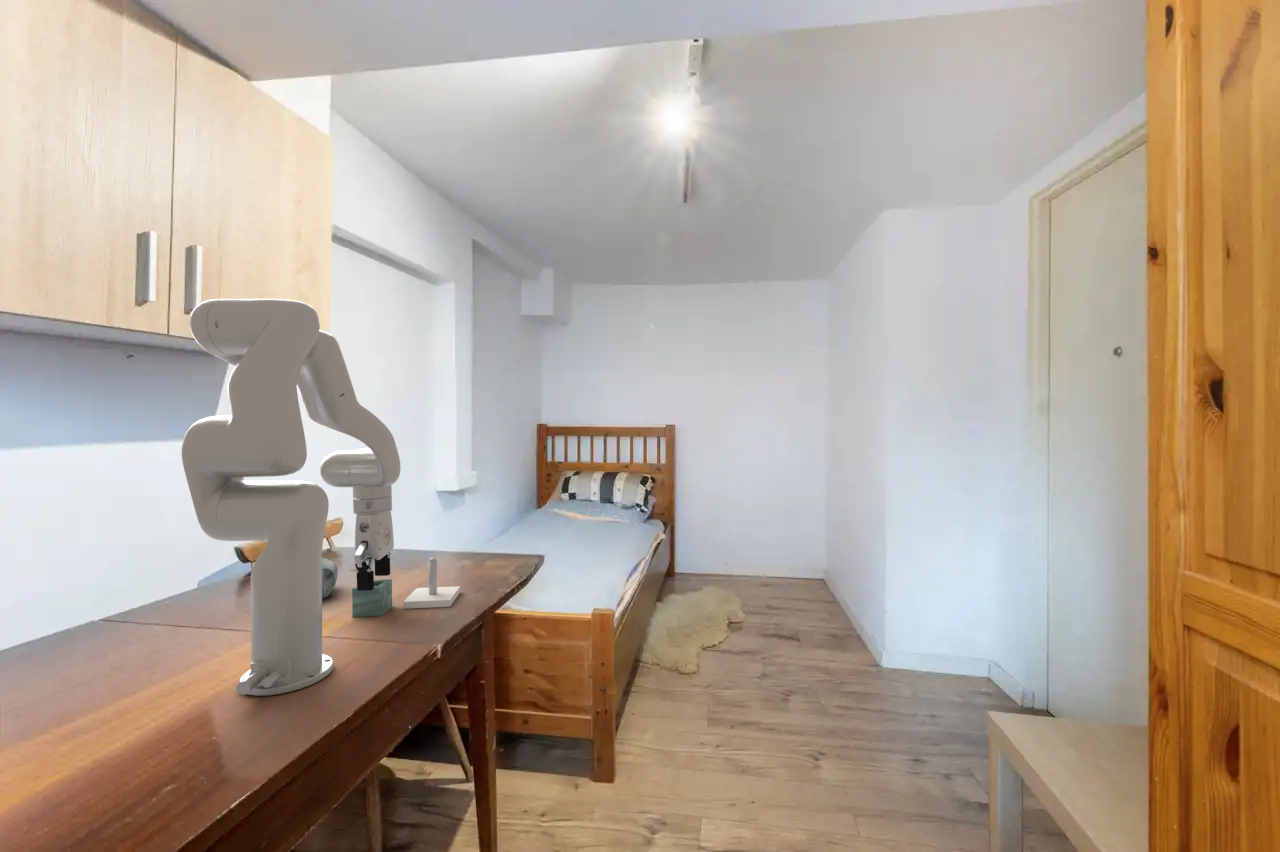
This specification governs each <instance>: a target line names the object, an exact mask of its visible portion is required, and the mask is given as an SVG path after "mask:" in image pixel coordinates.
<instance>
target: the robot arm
mask: <svg viewBox="0 0 1280 852" xmlns="http://www.w3.org/2000/svg"><path fill="white" fill-rule="evenodd" d="M189 328H190V332H191V334H192V336H193V339H194V340H195V342H196V343H197V344H198V345H199V346H200V347H201V348H202V349H203V350H205V351H206V352H207V353H208V354H210V355H213V356H214V357H216V358H218V359H220V360H222V361H223V362H227V363H228V364H231V365H233V366H234V368H233V370H232V371H231V373H230V376H229V379H228V383H227V397H228V400H229V406H230V413H231V414H230V415H213V416H206V417H205V418H202V419H201V418H200V419H199V420H197V421H196V422H194V423H193V424H192V425H190V427H189V428H188V430H186V432H185V434H184V438H183V441H182V445H181V461H182V466H183V471H184V475H185V479H186V482H187V486H188V489H189V492H190V497H191V500H192V501H191V502H192V503H193V508H194V512H195V516H196V518H197V523H198V524H199V526H200V529H201V530H202V531H203V532H204V533H205V534H206V535H207V536H208V537H209V538H211V539H213V540H216V541H217V540H218V541H222V542H224V541H225V542H253V541H254V542H255V541H256V542H266V546H265V548H264V549H263V551H261V553H260V555H259V556H258V557H257V559H256V560H255V561H254V564H253V566H252V569H251V572H250V621H251V622H250V625H251V626H250V629H251V631H250V633H251V634H250V636H251V640H250V641H251V643H250V644H251V646H250V647H251V650H250V652H251V653H250V654H251V656H250V657H251V662H250V669H249V670H247V671H246V672H244V673H243V675H241V677H240V678H239V680H238V683H237V685H236V691H237V693H238V694H240V695H249V696H256V697H257V696H258V697H263V696H265V697H266V696H276V695H280V694H281V695H282V694H286V693H289V692H290V693H291V692H293V691H297V690H301V689H303V688H307V687H309V686H311V685H313V684H315V683H317V682H319V681H321V680H323V679H324V678H325V677H327V676H328V675H330V673H331V672H332V671H333V669H334V660H333V658H332V657H331V656H329V655H327V654H325V653H323V599H322V558H323V543H324V536H325V531H326V530H325V529H326V525H327V520H328V514H329V502H330V501H329V498H328V495H327V493H326V491H325V490H324V489H323V488H322V487H321V486H319V485H318V484H315V483H313V482H310V481H305V480H296V479H295V480H293V479H290V480H289V479H283V480H282V479H281V480H280V479H277V480H275V479H274V480H272V479H270V480H269V479H268V480H245V478H272V477H284V476H289V475H292V474H295V473H297V472H299V471H300V470H301V469H302V468H303V467H304V466H305V464H306V462H307V456H308V455H307V454H308V452H307V451H308V450H307V449H308V448H307V443H306V442H307V441H306V436H305V429H304V425H303V419H302V414H301V408H300V402H299V397H298V395H300V398H301V400H302V403H303V405H304V408H305V411H306V413H307V415H308V417H309V418H310V419H311V420H312V421H313V422H315V423H317V424H318V425H321V426H324V427H326V428H329V429H332V430H334V431H337V432H339V433H342V434H345V435H348V436H350V437H353V438H355V439H356V440H358V441H360V442H362V443H363V444H364V445H365V446H366V447H362V448H357V449H348V450H347V449H345V450H344V449H343V450H340V449H339V450H336V451H333V452H331V453H329V454H327V455H326V456H325V457H324V458H323V460H322V461H321V465H320V469H319V470H320V476H321V478H322V480H323V481H324V482H325V484H327V485H329V486H332V487H335V488H352V506H353V507H352V509H353V510H352V511H353V512H352V513H353V514H355V515H356V518H355V528H354V552H355V553H354V555H353V559H354V562H355V563H354V566H355V573H356V586H357V590H358V591H368V590H373V589H374V580H375V577H374V576H376V577H382V576H383V577H385V576H390V575H391V552H392V551H393V550H394V547H395V546H394V545H395V543H394V541H395V540H394V528H393V518H392V512H391V511H393V501H392V500H393V495H392V494H393V493H392V485H393V484H395V483H396V482H397V481H398V479H399V477H400V474H401V459H400V455H399V452H398V447H397V444H396V441H395V438H394V436H393V433H392V432H391V431H390V429H389V428H388V426H387V425H385V423H384V422H383V421H382V420H381V419H379V418H378V416H376V415H375V414H374V413H372V412H371V411H370V410H368V409H367V408H366V407H364V406H363V405H361V403H360V402H359V401H358V400H357V397H356V393H355V389H354V386H353V382H352V380H351V377H350V373H349V370H348V367H347V364H346V362H345V357H344V355H343V352H342V349H341V346H340V344H339V342H338V340H337V339H336V337H335V336H334V335H332V334H331V333H329V332H327V331H324V330H321V320H320V317H319V313H318V312H317V310H316V309H315V308H314V307H313V306H311V305H310V304H308V303H307V302H303V301H299V300H294V299H283V298H214V299H212V298H211V299H208V300H204V301H202V302H199V304H198V305H196V306H195V307H194V308H193V309H192V312H191V314H190V316H189ZM298 393H299V394H298ZM367 562H368V564H367ZM373 566H374V570H372V569H373Z"/></svg>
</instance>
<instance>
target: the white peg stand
mask: <svg viewBox="0 0 1280 852" xmlns="http://www.w3.org/2000/svg"><path fill="white" fill-rule="evenodd" d="M460 594H461V586H459V585H458V586H457V585H456V586H438V560H437V558H436V557H433V556H432V557H430V558H429V559H428V587H416V588H415V589H414V590H413V591H412V592H411V593H410V594H409V595H408V596H407V597H406V598H405V599H404V600H403V601H402V609H405V610H406V609H425V608H426V609H427V608H449V607H451V606H452V605H453V603H455V600H457V597H458V596H459V595H460Z"/></svg>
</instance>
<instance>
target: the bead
mask: <svg viewBox="0 0 1280 852" xmlns="http://www.w3.org/2000/svg"><path fill="white" fill-rule="evenodd" d="M351 590H352V592H351V594H352V596H351V597H352V598H351V599H352V603H351V604H352V605H351V606H352V607H351V609H352V612H351V613H352V615H351V616H352V618H360V617H361V618H362V617H382V616H384V615H385V614H386V613H387V612H388V610H390V609H391V608H392V607H393V579H391V578H390V579H374V589H373V590H368V591H358V590H357V585H355V586H354V587H352V589H351Z"/></svg>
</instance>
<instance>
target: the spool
mask: <svg viewBox="0 0 1280 852" xmlns="http://www.w3.org/2000/svg"><path fill="white" fill-rule="evenodd" d="M338 572H339V570H338V566H337V564H336V563H335V562H333V560H330V559H327V558H323V557H322V600H323V599H325V598H327V597H328V596H329V595H330V594H331V593H332V592H333V590H334V589H335V586H336V584H337V580H338V575H339V574H338Z"/></svg>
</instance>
